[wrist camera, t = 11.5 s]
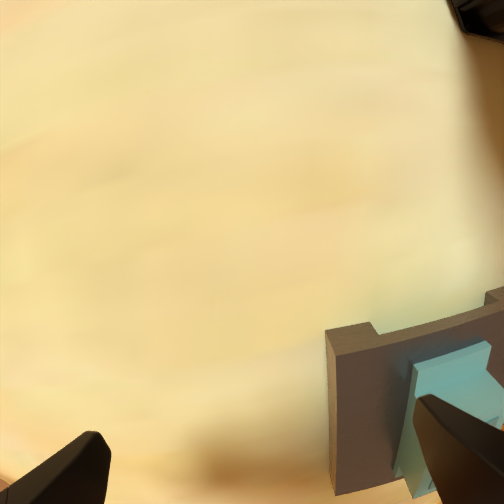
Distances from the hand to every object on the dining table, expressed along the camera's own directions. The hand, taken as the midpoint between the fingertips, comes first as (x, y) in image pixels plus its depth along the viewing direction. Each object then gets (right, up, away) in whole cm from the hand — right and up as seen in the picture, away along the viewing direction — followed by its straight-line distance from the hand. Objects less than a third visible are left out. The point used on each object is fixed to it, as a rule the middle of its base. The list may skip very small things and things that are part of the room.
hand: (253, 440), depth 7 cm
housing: (+14, -7, +11) cm, 19 cm away
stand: (+14, -6, +14) cm, 21 cm away
